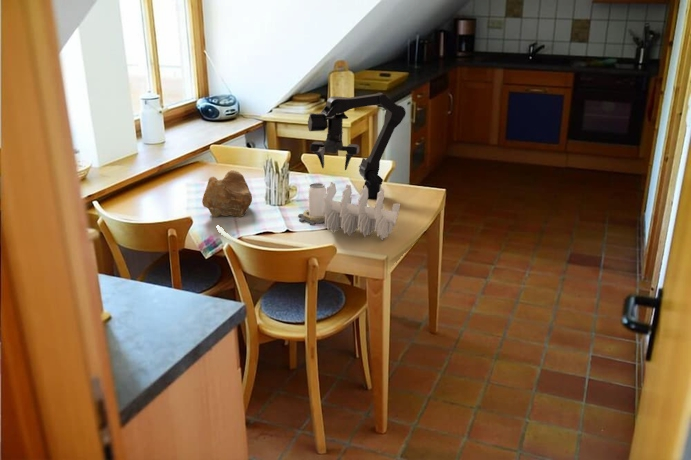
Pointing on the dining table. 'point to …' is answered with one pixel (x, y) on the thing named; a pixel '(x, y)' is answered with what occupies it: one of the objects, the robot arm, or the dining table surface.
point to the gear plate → (311, 218)
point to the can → (317, 199)
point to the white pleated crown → (358, 213)
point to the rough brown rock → (227, 195)
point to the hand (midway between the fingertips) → (334, 169)
